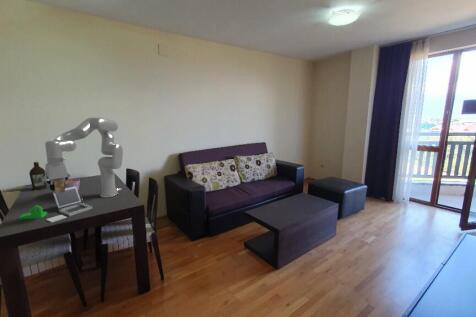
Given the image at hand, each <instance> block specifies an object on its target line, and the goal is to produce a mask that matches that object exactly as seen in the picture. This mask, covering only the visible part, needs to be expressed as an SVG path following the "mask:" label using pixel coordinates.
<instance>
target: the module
mask: <svg viewBox="0 0 476 317" xmlns="http://www.w3.org/2000/svg"><path fill="white" fill-rule="evenodd" d="M53 184H54V189H55V190H54V191H52V190H51V193H52V194H53V193H61V192H65V185H64V179H62V178H61V179H54V181H53Z"/></svg>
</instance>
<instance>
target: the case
mask: <svg viewBox="0 0 476 317" xmlns="http://www.w3.org/2000/svg"><path fill="white" fill-rule="evenodd" d="M52 194H53V197H54V201H55V203H56V206H57V209H58V212H59V213H61V214H62V215H66V216H68V217H72V216H74V215H77V214H80V213H83V212H86V211H89V210H93V205H89V204H87V203H85V201H84V199H83V197H82V195H81V194H80V193H79V190H78V191H77V188H76V186H75V187H70V188H66V189H65V192H61V193H52ZM77 207H83V208H81V209H78V210H74V211H71V212H70V211H68V210H72V209H74V208H77Z"/></svg>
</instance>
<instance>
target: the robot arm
mask: <svg viewBox="0 0 476 317" xmlns="http://www.w3.org/2000/svg"><path fill="white" fill-rule="evenodd" d="M118 128H119V126H118V123H117V122H116V121H115V120H111V119H107V118H104V117H88V118H86V119H85V120H83V121H82V122H81V123H80V124H78V125H77V126H76V127H74V128H72V129H69V130H68V131H66V132H63V133H61V134H60V135H58V136H57V137H56V138H54V139H53V140H47V141H45V144H44V145H45V146H44V147H45V154H46V163H45V166H44V170H45V177H44V178H43V179H42V181H44V182H46V184H48V185H49V190H50V191H51V192H52V191H54V190H55V189H54V184H53V181H54V179H61V178H62V179H64V185H65V187H66V184H65V182H66V181H67V180H68V179H70V177H71V174H70V173H68V171H67V167H66V164H65V162H64V161H65V160H66V157H63V152H66V153H68V152H74V151H75V150H76V149H77V144H76V142H75V141H78V140H83V139H85V138H87V137H88V136H89V135H90V134H91V133H93V132H94V131H95V130H96V131H98V132H99V134H100V136H101V147H100V151H101V154H102V155H105V156H103V157H100V158H99V159H98V161H97V165H98V168H99V173H100V181H101V182H100V183H101V190H102V193H101V194H100V197H101V198H111V197H116V196H118V195H119V192H120V191H122V188H121V187H119V188H117V187H116V179H115V176H116V174H115V172H114V170H119V169H121V167H122V165H123V157H124V156H123V154H124V152H123V151H124V150H123V146H122V145H121V144H119V143H116V142H115V136H114V134H113V133H114V132H117V130H118ZM117 194H118V195H117ZM115 195H116V196H115Z"/></svg>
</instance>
